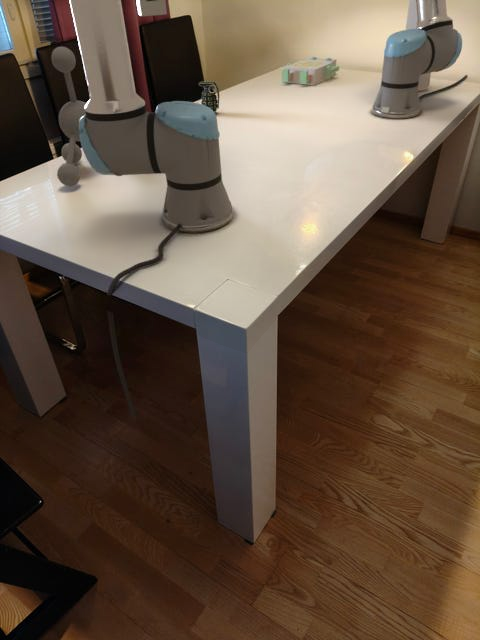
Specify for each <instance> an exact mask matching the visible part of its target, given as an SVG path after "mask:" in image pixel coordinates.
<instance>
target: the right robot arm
mask: <svg viewBox="0 0 480 640" xmlns="http://www.w3.org/2000/svg"><path fill="white" fill-rule="evenodd" d="M416 7H417V17H418V25H417V27H416V28H415V29H410V30H406V29H402V30H399V31H395V32H394V33H391V34H390V35H389V36H388V37H387V39H386V43H385V47H384V50H383V64H382V71H381V73H382V74H381V82H380V88H379V90H378V92H377V95H376V97H375V99H374V102H373V104H372V109H371V113H372V114H373V115H374V116H377V117H380V118H385V119H396V120H399V119H409V118H414V117H417V116H418V115H420V112H421V102H420V101H421V99H423V98H425V97H428V96H432V95H434V94H437V93H440V92H442V91H446V90H448V89H450V88H453V87H455V86H457V85H458V84H460V83H462V82H463V81H464V80H465V79H467V78H468V74H465V75H464V76H463V77H461V79H459V80H458V81H456V82H454V83H452V84H450V85H447V86H445V87H443V88H439V89H435V90H433V91H431V92H427V93H424V94H422V95H420V94H419V91H418V83H419V77H420V75H421V74H426V73H431V74H432V73H438V72H442V71H444V70H447V69H449V68H451V67H453V65H454V64H455V63H456V62H457V60H458V59H459V57H460V55H461V53H462V49H463V38H462V35H461V32H458V30H457V29H456V28H454V22H453V21H454V20H453V19H452V18H451V17H450V16H448V13H447V0H416Z"/></svg>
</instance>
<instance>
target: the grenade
mask: <svg viewBox="0 0 480 640" xmlns="http://www.w3.org/2000/svg"><path fill="white" fill-rule="evenodd" d="M197 85H198V86H200V87H203V91H202V92H201V101H200V102H201V103H200V104H202V105H205V106H207V107H209V108H210V109H212V110H213V111H214V113H215V114H216V112H217V111H218V110H219V108H220V90H219V86H218V84H217V83H216V81H199V82H198V84H197ZM216 93H217V95H216Z"/></svg>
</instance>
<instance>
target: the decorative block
mask: <svg viewBox="0 0 480 640" xmlns="http://www.w3.org/2000/svg"><path fill="white" fill-rule="evenodd" d="M338 71H340V66H338V65H337V59H335V58H331V57H328V58H327V57H326V58H323V57H322V58H321V57H316V56H312V57H310V58H307V59H302V60H299V61H296V62H294V63H293V62H287V65H286V66H284V67H283V68H282V69H281V83H288V84H289V83H290V84H298V85H308V86H315V85H318V84H321V83H323V82H325V81H328V80H329V79H331V78H333V76H335V75H336V74H337V73H336V72H338Z"/></svg>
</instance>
